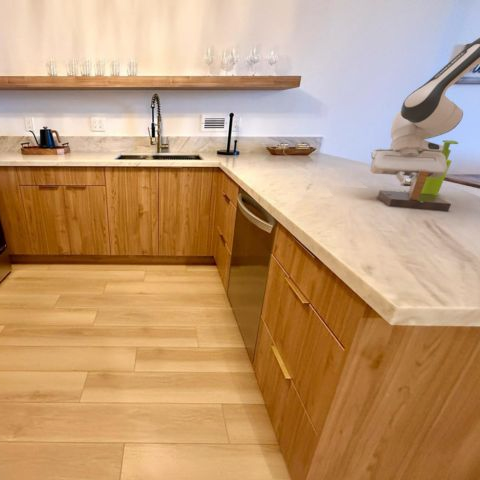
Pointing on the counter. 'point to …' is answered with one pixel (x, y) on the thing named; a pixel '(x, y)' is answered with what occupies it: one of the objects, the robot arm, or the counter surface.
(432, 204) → the dark square slab
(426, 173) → the wooden block
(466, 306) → the counter surface
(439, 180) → the soap dispenser
